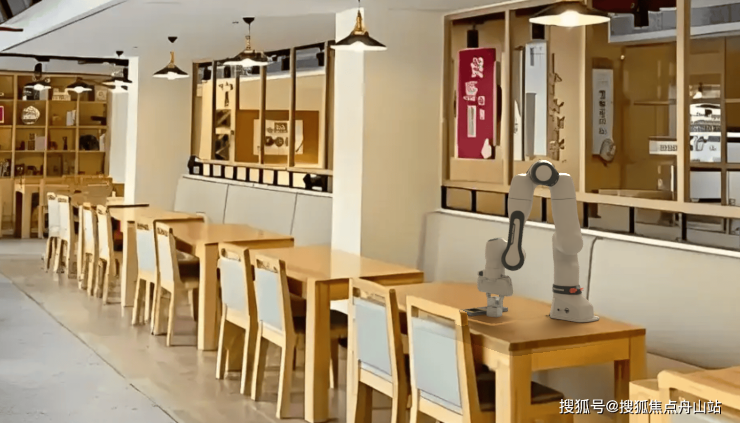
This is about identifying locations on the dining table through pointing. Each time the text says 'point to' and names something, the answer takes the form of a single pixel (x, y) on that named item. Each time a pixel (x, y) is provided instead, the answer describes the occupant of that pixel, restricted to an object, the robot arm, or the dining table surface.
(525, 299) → the dining table surface
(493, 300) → the grey cube
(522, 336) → the dining table surface
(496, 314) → the nut
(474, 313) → the rail
